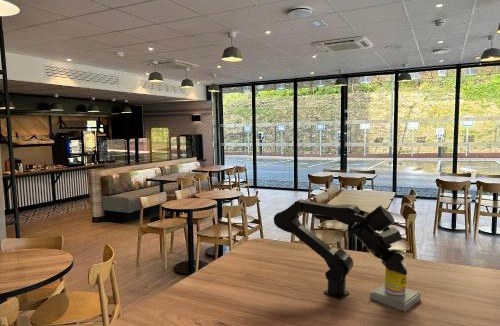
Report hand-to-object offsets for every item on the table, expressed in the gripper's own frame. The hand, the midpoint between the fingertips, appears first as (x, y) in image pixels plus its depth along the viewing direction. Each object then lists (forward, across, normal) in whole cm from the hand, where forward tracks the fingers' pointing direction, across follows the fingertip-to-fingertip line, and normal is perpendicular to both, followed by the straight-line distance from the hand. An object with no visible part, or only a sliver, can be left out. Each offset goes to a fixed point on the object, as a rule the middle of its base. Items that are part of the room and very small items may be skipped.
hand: (400, 269), depth 121 cm
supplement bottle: (+5, 0, +7) cm, 8 cm away
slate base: (+6, 0, +8) cm, 11 cm away
